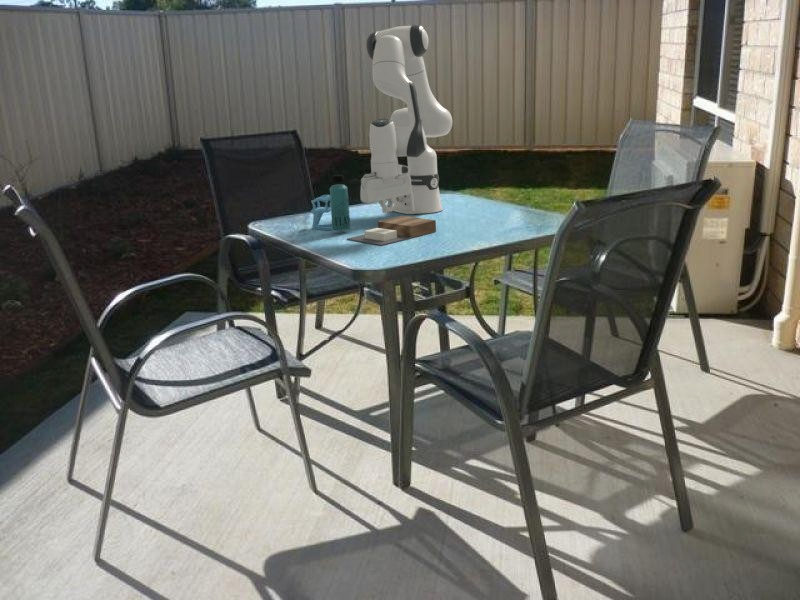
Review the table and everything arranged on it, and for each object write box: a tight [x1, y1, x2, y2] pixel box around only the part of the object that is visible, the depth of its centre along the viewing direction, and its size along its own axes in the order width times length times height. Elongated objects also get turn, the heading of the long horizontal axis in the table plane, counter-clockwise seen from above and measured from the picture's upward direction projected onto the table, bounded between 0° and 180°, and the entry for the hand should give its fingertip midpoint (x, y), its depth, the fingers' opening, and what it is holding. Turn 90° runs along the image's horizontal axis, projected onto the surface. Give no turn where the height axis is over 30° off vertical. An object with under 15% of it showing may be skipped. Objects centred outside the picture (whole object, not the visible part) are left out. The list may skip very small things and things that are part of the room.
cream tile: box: [364, 227, 397, 241], centre depth 272 cm, size 9×6×2 cm, turn 47°
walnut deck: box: [376, 215, 437, 239], centre depth 280 cm, size 16×12×4 cm
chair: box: [310, 194, 334, 231], centre depth 293 cm, size 8×8×12 cm
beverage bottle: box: [329, 174, 351, 231], centre depth 283 cm, size 6×7×20 cm
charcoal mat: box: [346, 233, 412, 247], centre depth 272 cm, size 17×13×1 cm
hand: (387, 212), depth 273 cm, fingers closed
